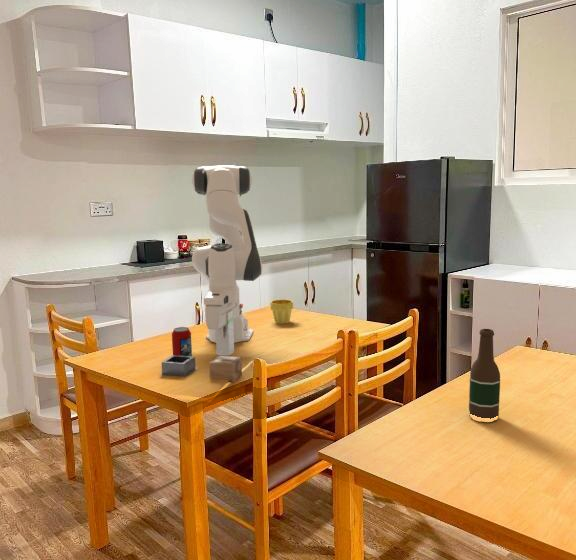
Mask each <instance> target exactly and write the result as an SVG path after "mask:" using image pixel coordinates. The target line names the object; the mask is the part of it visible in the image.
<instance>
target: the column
mask: <svg viewBox="0 0 576 560" xmlns="http://www.w3.org/2000/svg"><path fill="white" fill-rule="evenodd" d="M233 321H234V318H233V310H231V311H229V312H227V324H226V325H224V326H223V327H224V328H223V332H224V333H225V338H224V339H218V334H217V331H216V343H215V345H216V346H215V348H216V351H215V352H216V355H217V356H230V355H231V356H232V354H233V353H235V343H234V330H233Z"/></svg>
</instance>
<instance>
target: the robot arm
mask: <svg viewBox="0 0 576 560" xmlns="http://www.w3.org/2000/svg"><path fill="white" fill-rule="evenodd" d="M193 171H194V172H193V175H192V176H191V177H192V179H191V183H192V187H193V189H194V191H195V192H196V193H197V194H198V195H201V196H206V199H205V200H206V201H205V202H206V208H207V209H206V210H207V213H208V216H209V221H208V222H209V230H210V232H211V233H212V234H213V235H215V236H217V237H219V238H221V239H223V240H224V241H225V243H224V242H223V243H221V242H220V243H215V244H212V245H205V246H199V247H197V248H195V250H194V251H193V253H192V256H191V263H192V266H193V268H194V269H195V270H196V271H197V272H198V273H199V274H201V275H202V276H203V277H204V278H205V279H206V281H207V282H208V291H207V293H206V295H205V297H203V304H204V305H205V324H206V327H207V330H208V334H207V335H205V339H207V340H209V341H210V342H211V343H215V344H216V331H217V334H218V339H224V338H225V333H224V332H223V328H224V327H223V326H224V325H226V324H227V312H229V311H231V310H233V318H234V321H233V330H234V344H235V343H239V342H247V341H250V339H251V337H252V336H253V334H254V329H252V328H249V323H248V319H247V318H246V317H245V316H244V314H242V313H243V310H242V309H243V307H244V304H243V303H240V287H239V286H238V283H237V281H248V282H251V281H252V282H254V281H255V280H257V279H258V278H259V277H260V276H261V275H262V272H263V262H262V259H261V256H260V254H259V251H258V247H257V242H256V238H255V237H256V236H255V234H254V230H253V226H252V222H251V218H250V215H249V213H248V211H247V209H244V208H242V206H241V205H240V203H239V197H242V196H243V195H245V194H248V193H249V191H251V188H252V184H253V177H252V174H251V172H250V169H249V168H248V167H247V166H244V165H239V166H237V165H227V164H226V165H225V164H222V165H211V166H199V167H196V168H195V169H194V170H193Z"/></svg>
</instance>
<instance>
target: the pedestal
mask: <svg viewBox="0 0 576 560" xmlns="http://www.w3.org/2000/svg"><path fill="white" fill-rule="evenodd" d="M242 364H243V363H242V356H232V355H231V356H230V355H217V356H216V357H215V358H213V360H210V362H209V378H210V379H221V380H222V379H223V380H228V381H227V383H234V382H236V381H237V380H238V379H239V378H240V377H241V376H242V375H243V368H242V367H243V365H242Z"/></svg>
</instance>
